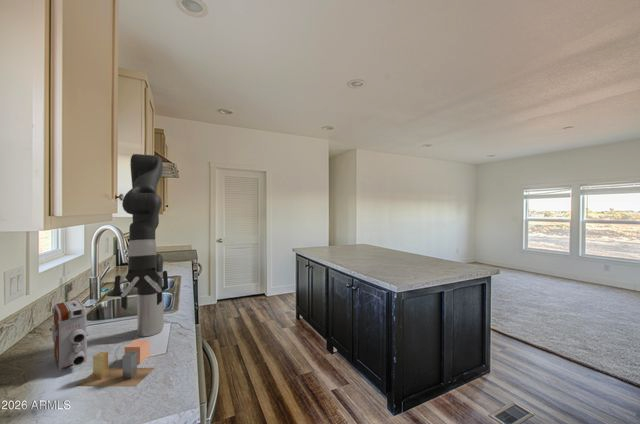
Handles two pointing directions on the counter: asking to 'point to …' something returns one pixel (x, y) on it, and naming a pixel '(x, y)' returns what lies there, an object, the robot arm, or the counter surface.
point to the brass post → (100, 365)
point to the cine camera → (70, 334)
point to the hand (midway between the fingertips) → (142, 306)
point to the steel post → (129, 365)
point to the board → (116, 378)
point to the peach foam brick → (139, 349)
